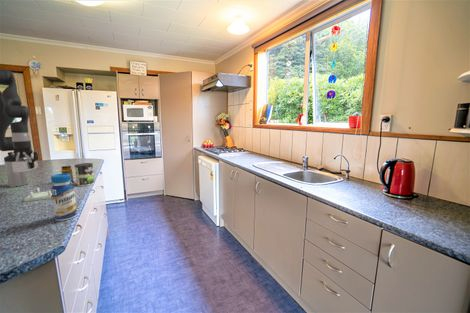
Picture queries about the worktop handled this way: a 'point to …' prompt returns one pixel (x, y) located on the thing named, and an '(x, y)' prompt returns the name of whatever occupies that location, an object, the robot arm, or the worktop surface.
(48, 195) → the pale green pegged board
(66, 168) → the condiment
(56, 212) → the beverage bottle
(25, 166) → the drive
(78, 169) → the coffee can
